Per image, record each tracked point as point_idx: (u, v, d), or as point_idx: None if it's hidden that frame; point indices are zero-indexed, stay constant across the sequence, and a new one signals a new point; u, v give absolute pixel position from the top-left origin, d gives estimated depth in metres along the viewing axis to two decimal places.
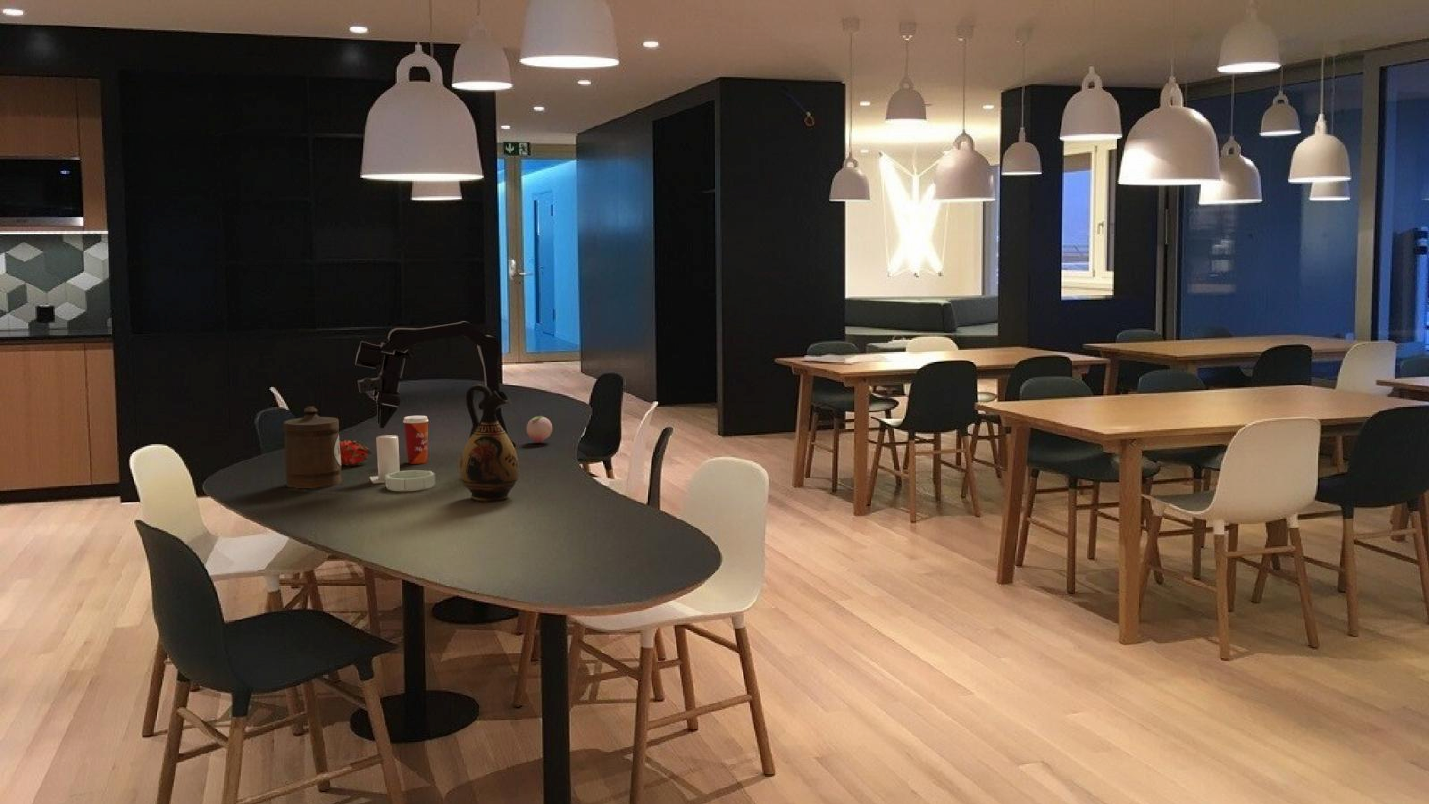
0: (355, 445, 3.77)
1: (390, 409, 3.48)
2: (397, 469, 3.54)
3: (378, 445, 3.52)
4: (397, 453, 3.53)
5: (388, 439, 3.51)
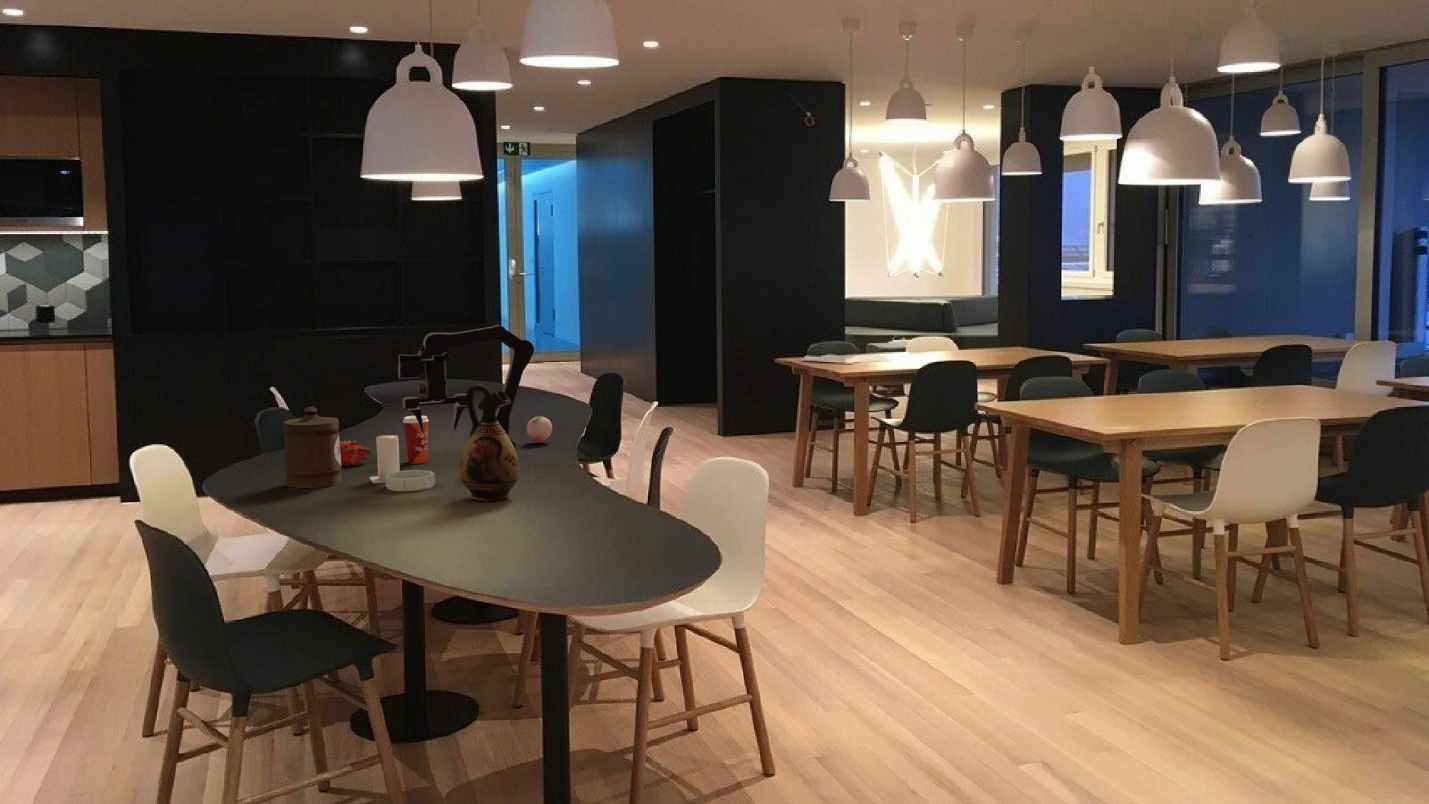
0: (355, 445, 3.77)
1: None
2: (397, 469, 3.54)
3: (378, 445, 3.52)
4: (397, 453, 3.53)
5: (388, 439, 3.51)
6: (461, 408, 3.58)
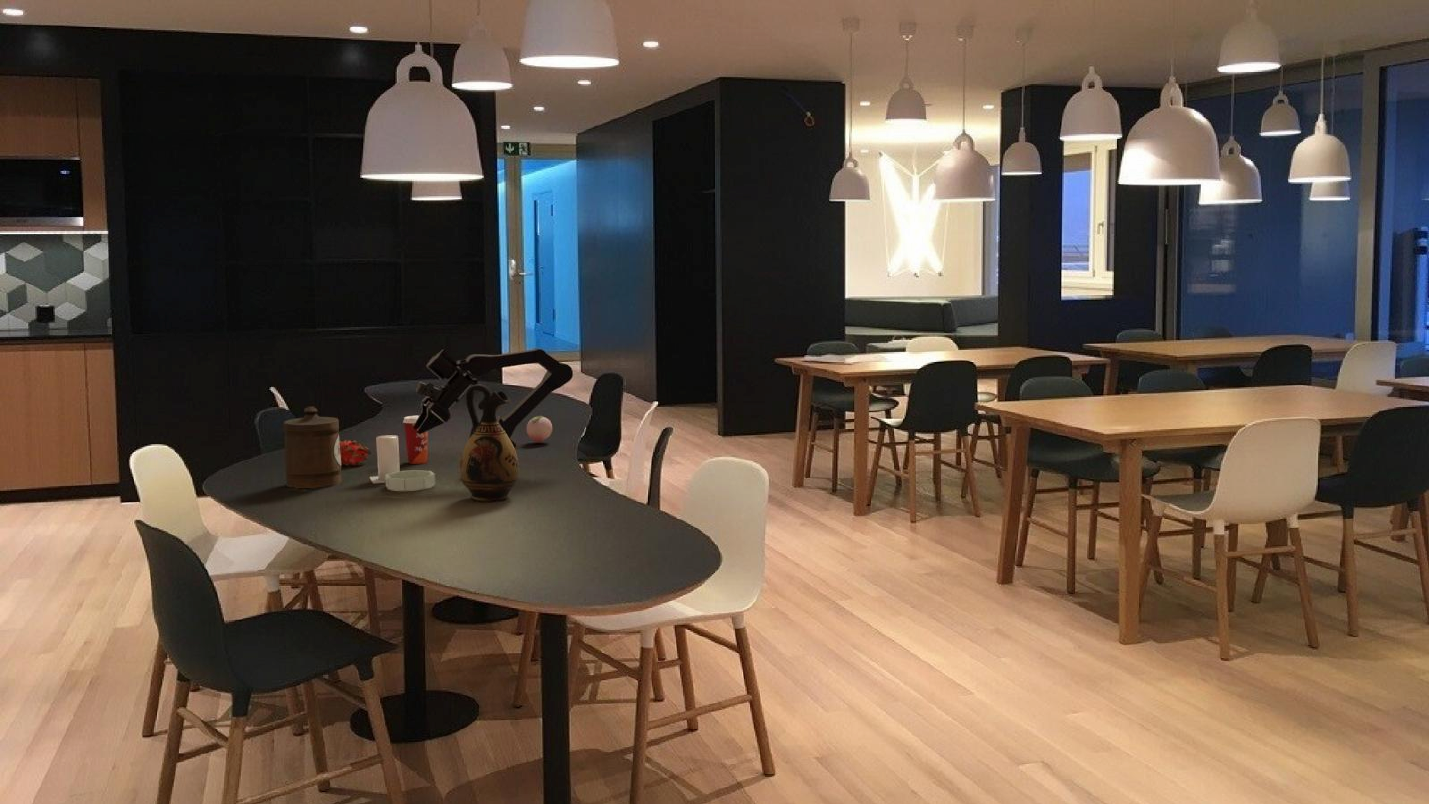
0: (355, 445, 3.77)
1: (435, 421, 3.52)
2: (397, 469, 3.54)
3: (378, 445, 3.52)
4: (397, 453, 3.53)
5: (388, 439, 3.51)
6: None
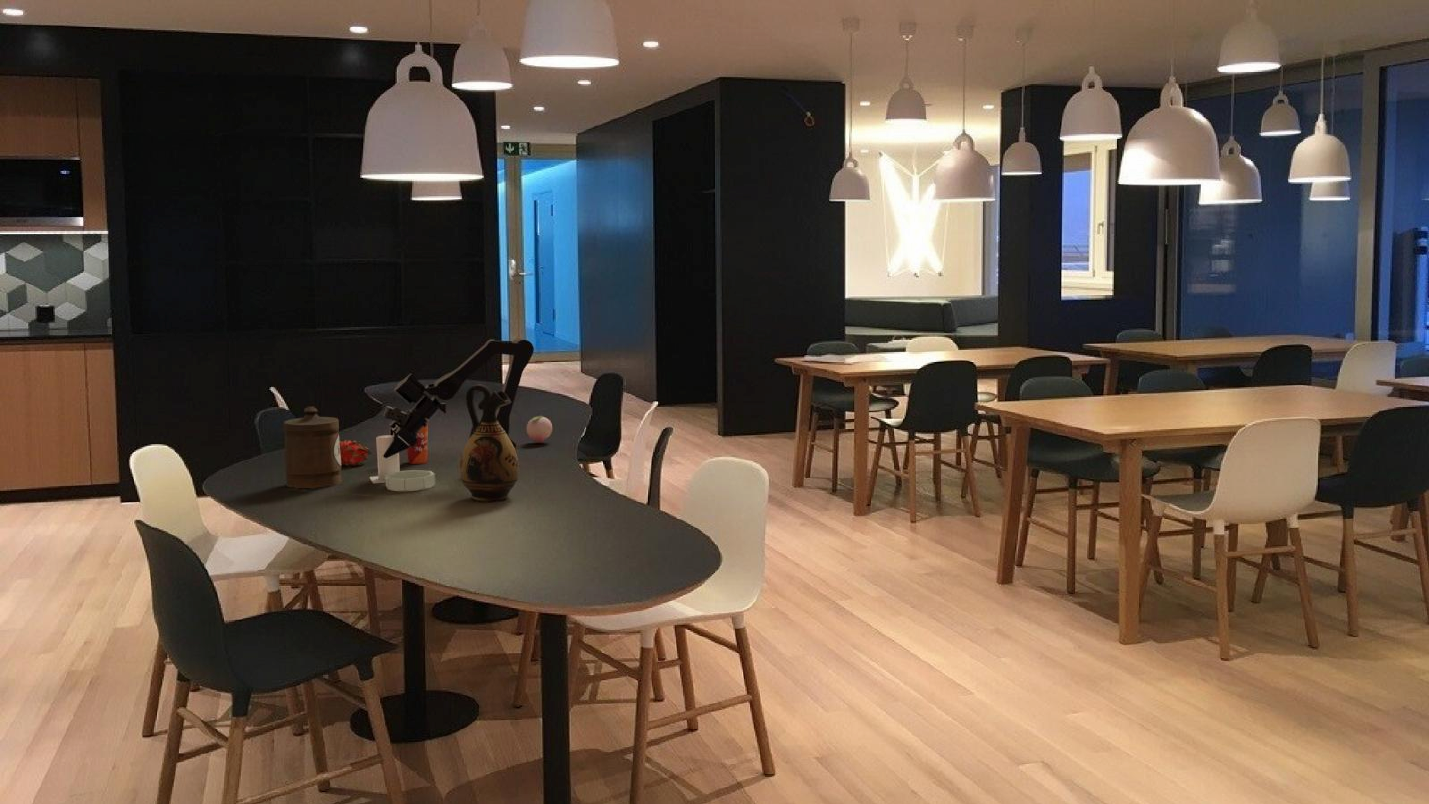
0: (355, 445, 3.77)
1: (402, 445, 3.51)
2: (397, 469, 3.54)
3: (378, 445, 3.52)
4: (397, 453, 3.53)
5: (388, 439, 3.51)
6: None
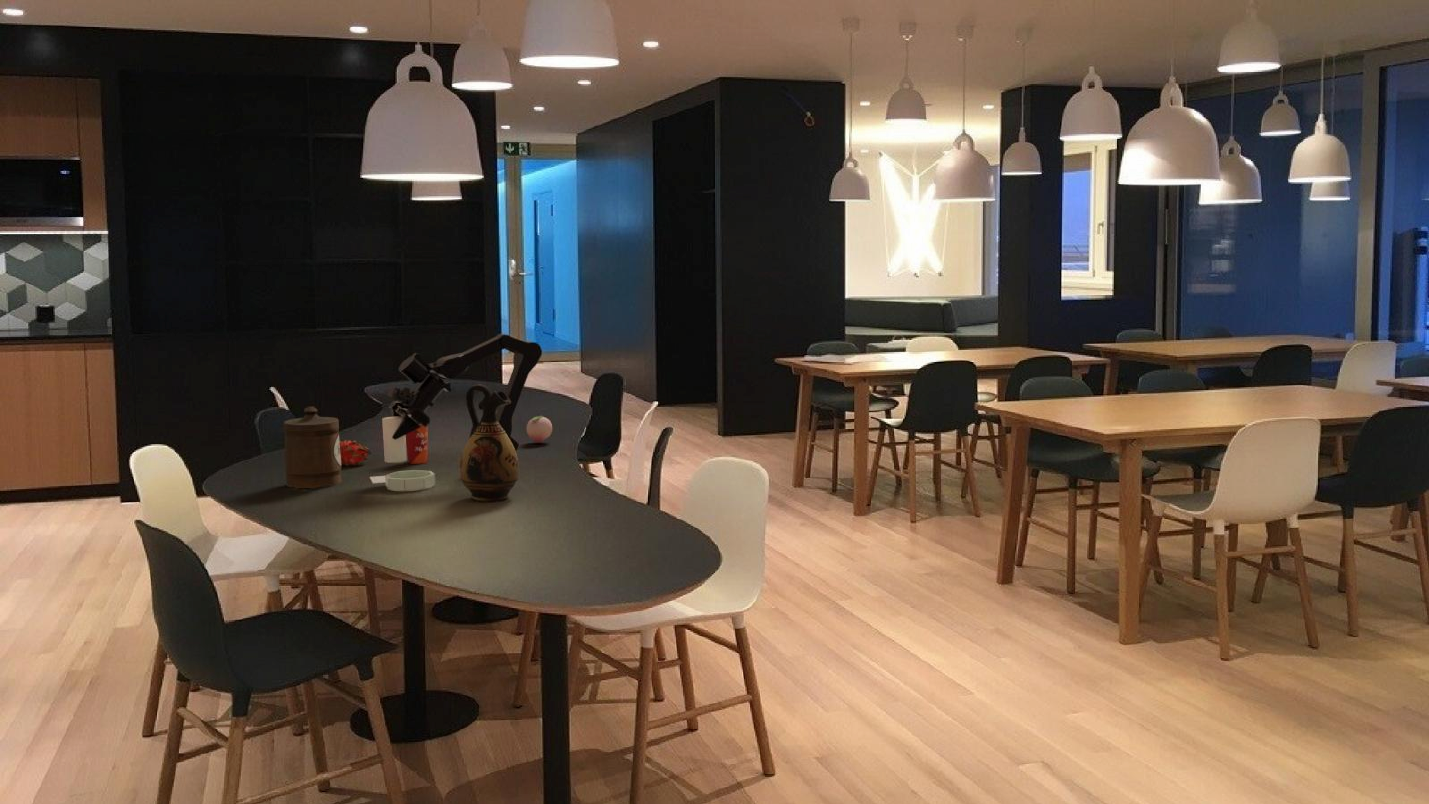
0: (355, 445, 3.77)
1: (411, 425, 3.45)
2: (405, 450, 3.47)
3: (386, 426, 3.44)
4: None
5: (397, 420, 3.44)
6: None
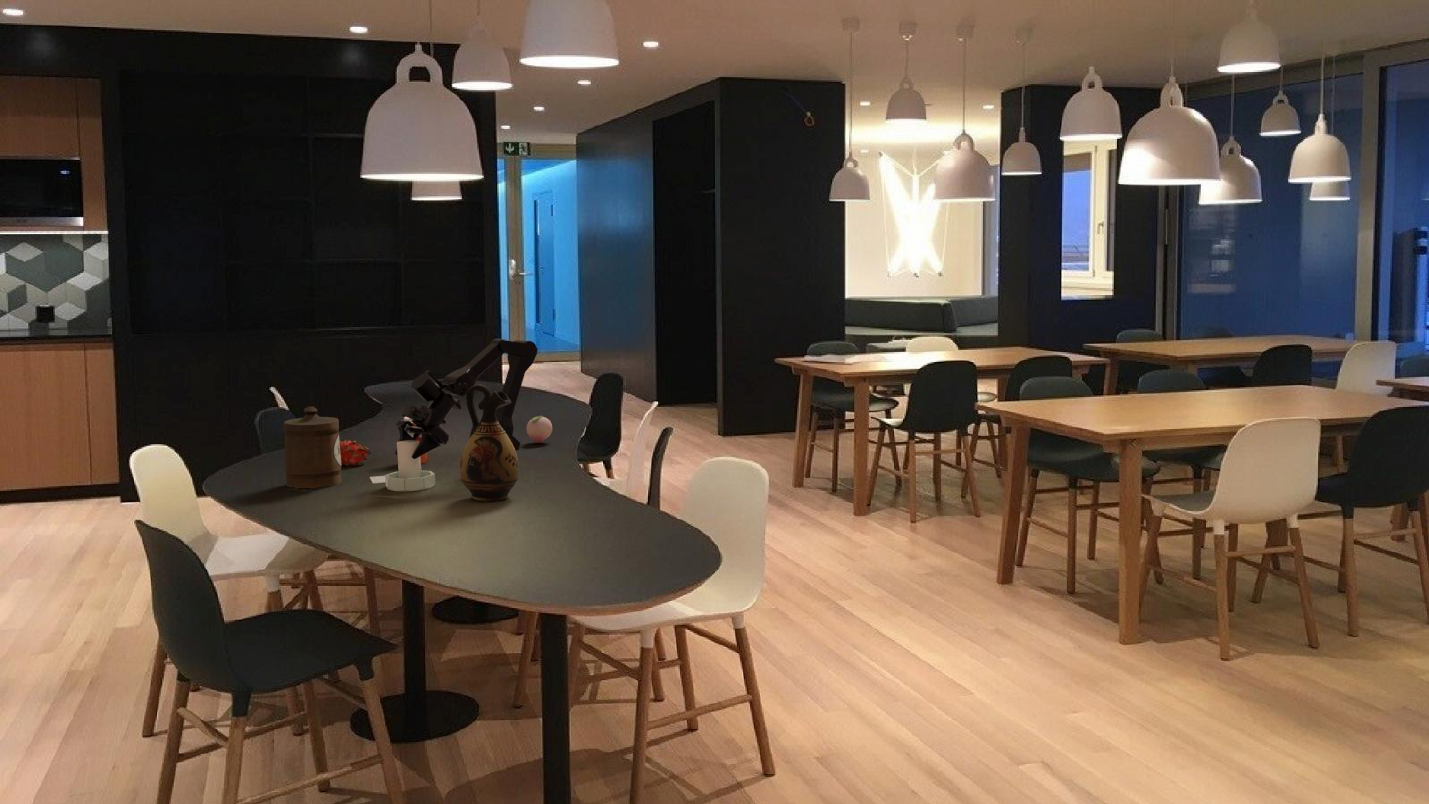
0: (355, 445, 3.77)
1: (431, 444, 3.41)
2: (420, 474, 3.43)
3: (402, 451, 3.40)
4: None
5: (414, 443, 3.40)
6: None
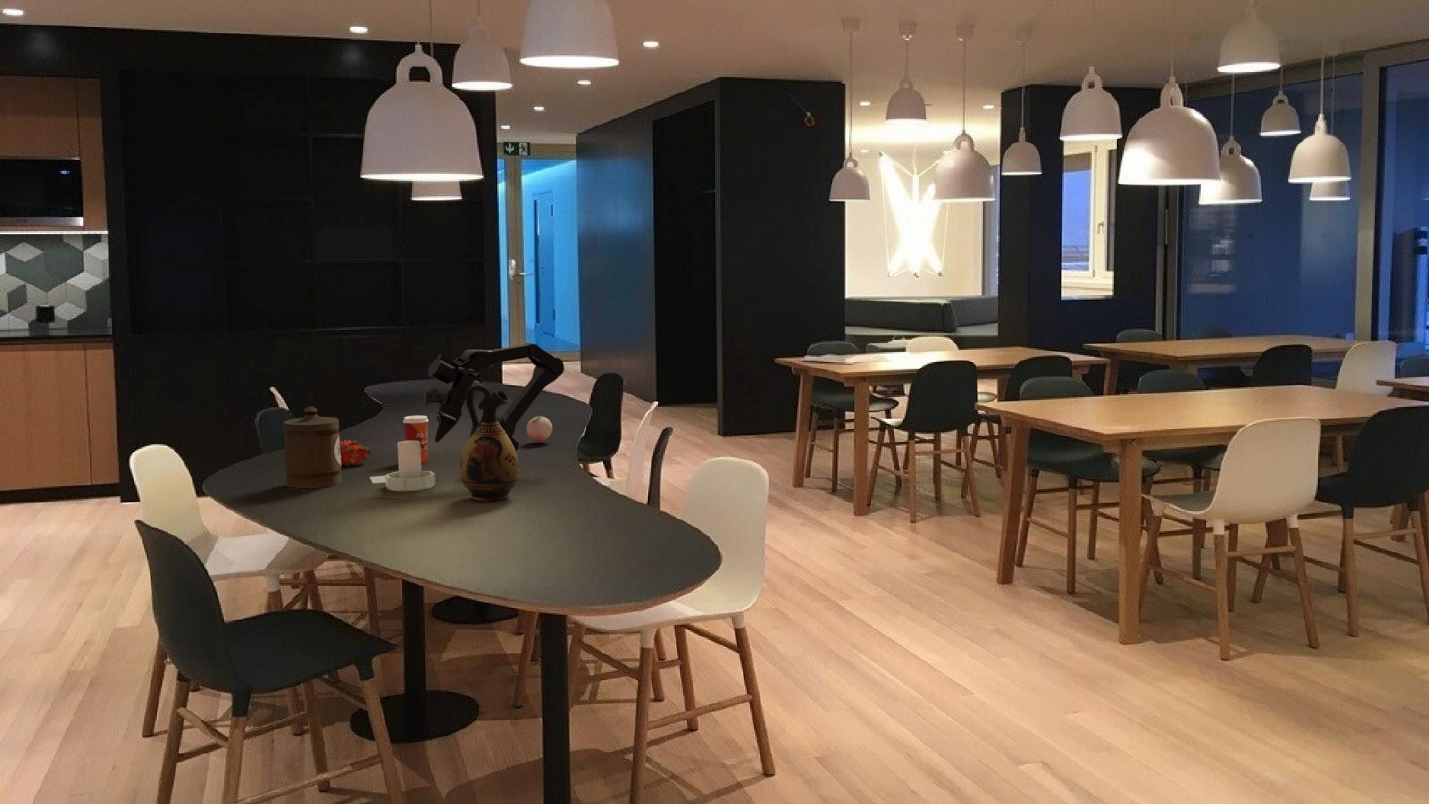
0: (355, 445, 3.77)
1: (450, 422, 3.48)
2: (421, 474, 3.43)
3: (403, 451, 3.40)
4: (420, 458, 3.43)
5: (414, 444, 3.40)
6: None
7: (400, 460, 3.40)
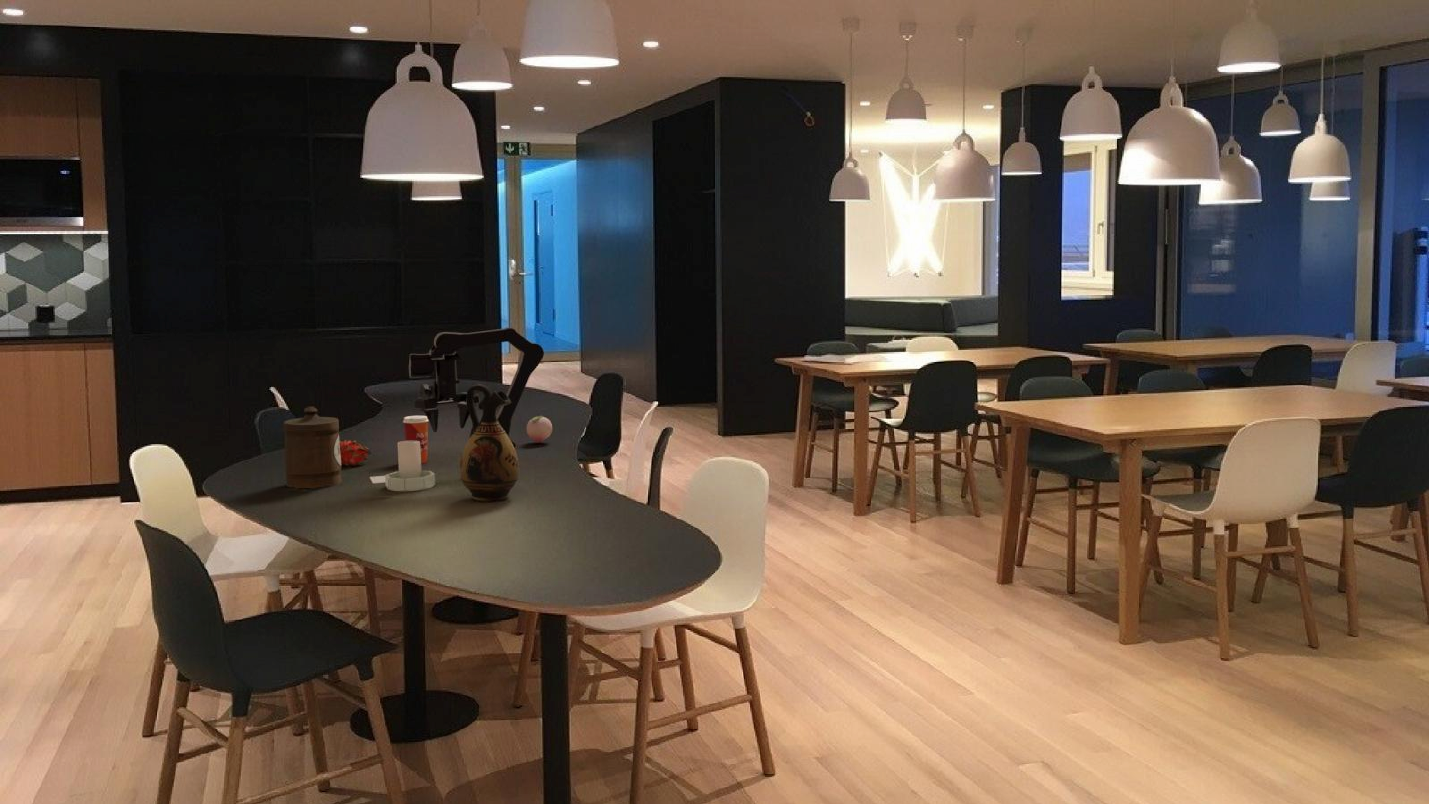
0: (355, 445, 3.77)
1: None
2: (421, 474, 3.43)
3: (403, 451, 3.39)
4: (420, 458, 3.43)
5: (415, 444, 3.40)
6: None
7: (400, 460, 3.40)
